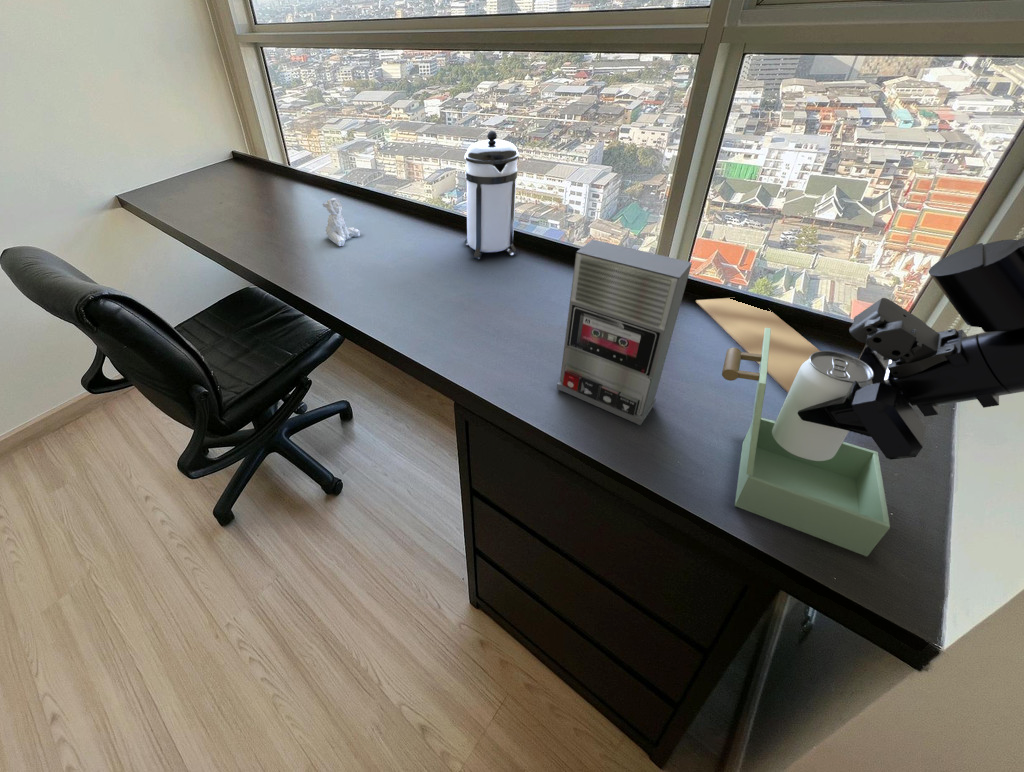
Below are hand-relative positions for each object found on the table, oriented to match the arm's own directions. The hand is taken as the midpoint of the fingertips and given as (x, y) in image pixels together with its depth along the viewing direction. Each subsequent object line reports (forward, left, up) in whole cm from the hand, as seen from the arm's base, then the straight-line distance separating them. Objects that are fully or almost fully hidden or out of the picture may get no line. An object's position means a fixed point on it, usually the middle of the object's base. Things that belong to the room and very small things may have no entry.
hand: (806, 401), depth 56 cm
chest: (-3, +1, -13) cm, 14 cm away
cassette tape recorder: (+23, -5, -13) cm, 27 cm away
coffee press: (+66, -49, -13) cm, 83 cm away
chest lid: (+4, +1, -1) cm, 4 cm away
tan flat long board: (-1, -32, -13) cm, 35 cm away
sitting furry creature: (+107, -36, -13) cm, 113 cm away
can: (-1, 0, -6) cm, 6 cm away
